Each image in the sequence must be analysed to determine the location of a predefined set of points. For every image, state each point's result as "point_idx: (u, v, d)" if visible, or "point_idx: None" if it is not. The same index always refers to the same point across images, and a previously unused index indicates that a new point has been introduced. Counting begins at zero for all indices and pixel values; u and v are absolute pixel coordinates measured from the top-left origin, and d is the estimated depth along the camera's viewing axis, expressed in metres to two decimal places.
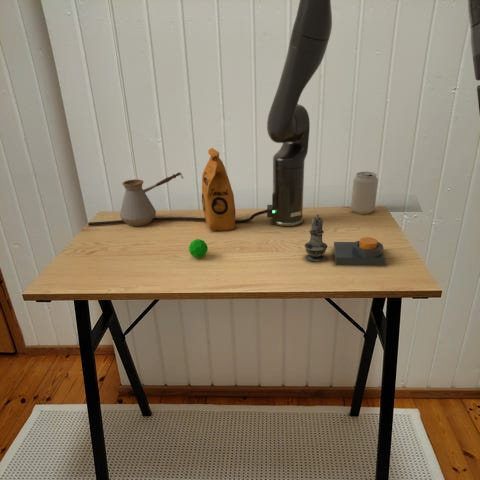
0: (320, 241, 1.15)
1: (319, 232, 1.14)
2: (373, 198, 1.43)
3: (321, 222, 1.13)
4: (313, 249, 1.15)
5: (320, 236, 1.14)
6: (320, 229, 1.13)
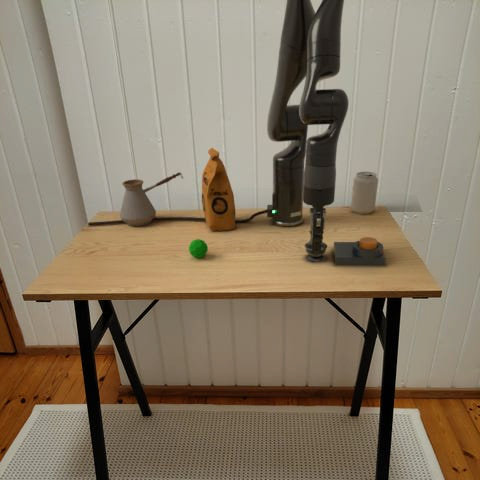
0: None
1: (319, 232, 1.14)
2: (373, 198, 1.43)
3: None
4: None
5: None
6: None
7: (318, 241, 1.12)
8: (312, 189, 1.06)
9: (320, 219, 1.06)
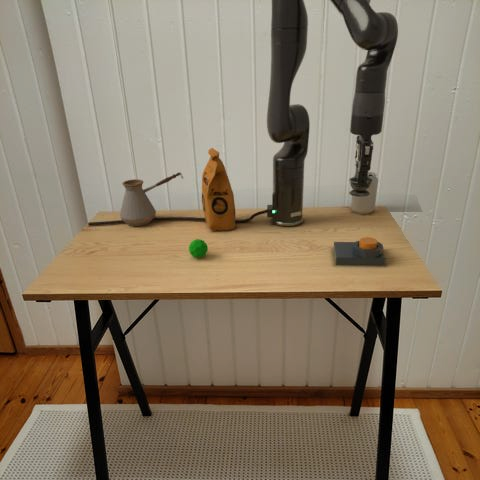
0: None
1: (365, 164, 1.15)
2: (373, 198, 1.43)
3: None
4: None
5: None
6: None
7: (365, 172, 1.13)
8: (361, 117, 1.07)
9: (369, 147, 1.07)
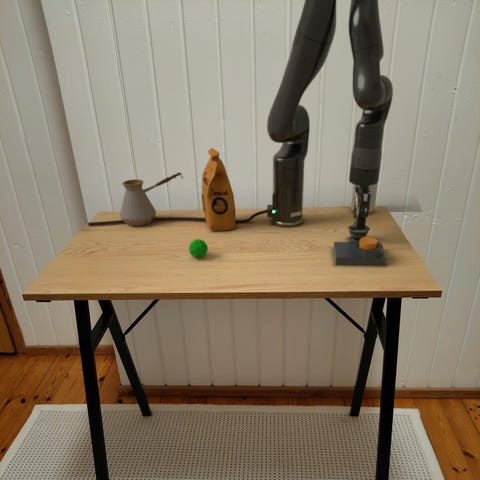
0: None
1: None
2: (373, 198, 1.43)
3: None
4: (357, 231, 1.24)
5: None
6: None
7: (363, 218, 1.19)
8: (360, 169, 1.14)
9: (367, 194, 1.14)
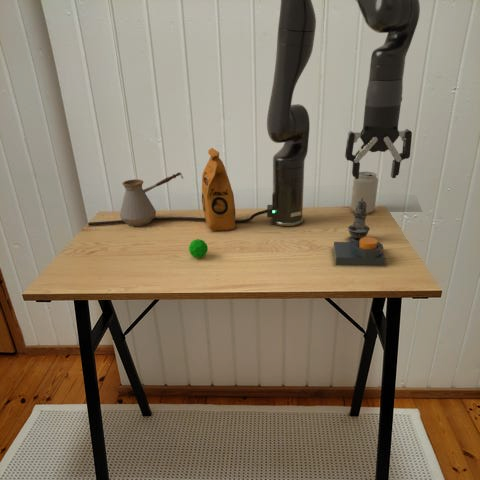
0: (364, 223, 1.24)
1: (363, 215, 1.22)
2: (373, 198, 1.43)
3: (365, 206, 1.21)
4: (357, 231, 1.24)
5: (364, 219, 1.23)
6: (364, 212, 1.22)
7: (353, 163, 1.06)
8: None
9: (350, 133, 1.02)
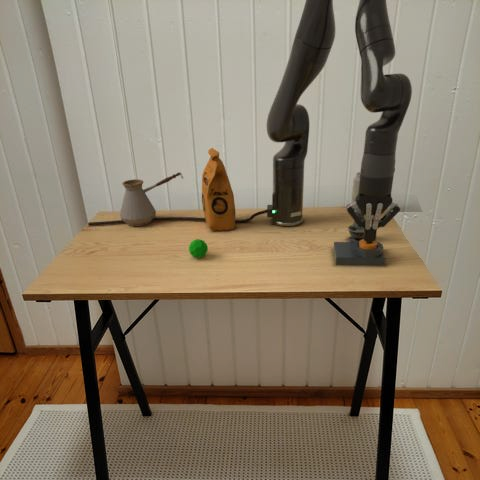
0: None
1: (363, 215, 1.22)
2: None
3: None
4: (357, 231, 1.24)
5: None
6: None
7: (364, 229, 1.12)
8: None
9: (347, 208, 1.10)
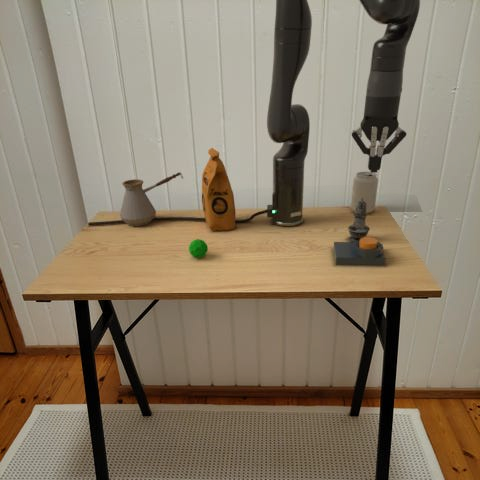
0: (364, 223, 1.24)
1: (363, 215, 1.22)
2: (373, 198, 1.43)
3: (365, 206, 1.21)
4: (357, 231, 1.24)
5: (364, 219, 1.23)
6: (364, 212, 1.22)
7: (369, 156, 1.09)
8: None
9: (351, 133, 1.07)
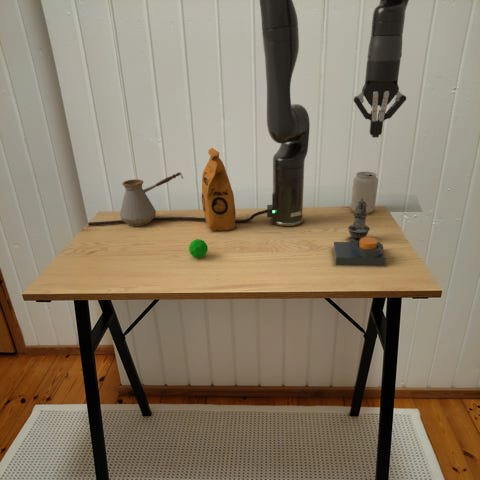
0: (364, 223, 1.24)
1: (363, 215, 1.22)
2: (373, 198, 1.43)
3: (365, 206, 1.21)
4: (357, 231, 1.24)
5: (364, 219, 1.23)
6: (364, 212, 1.22)
7: None
8: None
9: (353, 99, 1.11)
